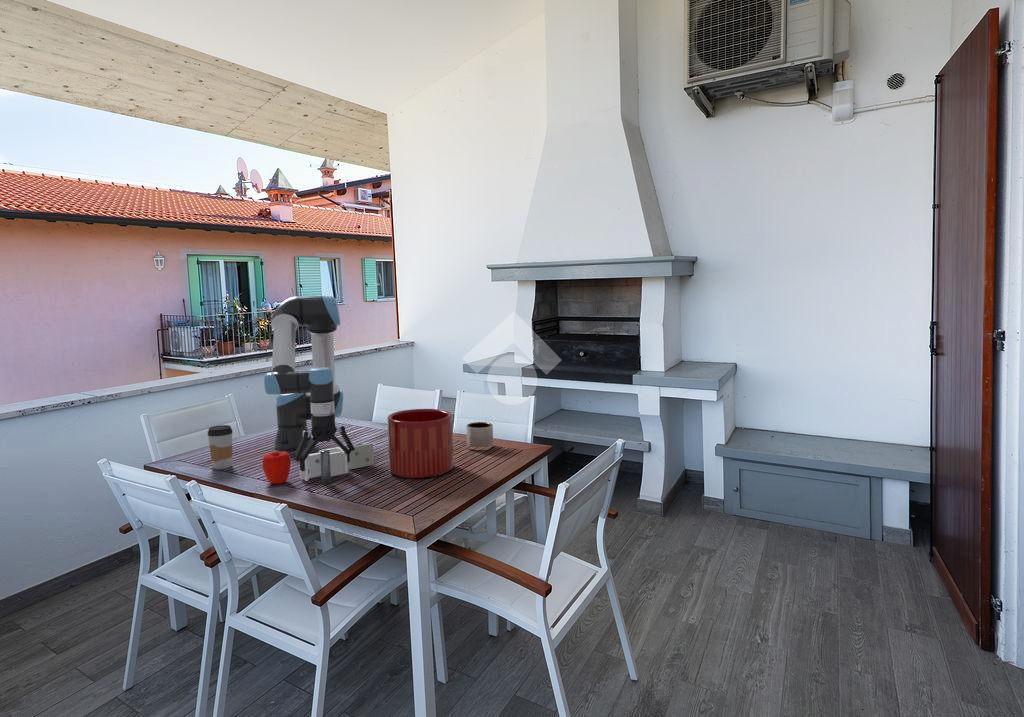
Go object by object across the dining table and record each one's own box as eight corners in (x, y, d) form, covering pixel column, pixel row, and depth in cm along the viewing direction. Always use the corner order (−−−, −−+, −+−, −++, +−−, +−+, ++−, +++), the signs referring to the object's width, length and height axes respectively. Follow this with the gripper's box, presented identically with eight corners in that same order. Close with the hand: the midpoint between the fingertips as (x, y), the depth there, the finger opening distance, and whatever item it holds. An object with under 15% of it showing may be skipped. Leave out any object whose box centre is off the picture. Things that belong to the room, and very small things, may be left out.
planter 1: (399, 484, 193) (397, 425, 190) (381, 466, 213) (379, 412, 211) (463, 473, 203) (462, 417, 201) (440, 457, 223) (439, 406, 221)
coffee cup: (240, 464, 216) (237, 425, 215) (222, 471, 208) (219, 430, 207) (222, 462, 219) (220, 424, 217) (204, 469, 211) (201, 429, 209)
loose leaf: (348, 468, 210) (347, 446, 209) (372, 463, 215) (371, 442, 214) (350, 469, 208) (349, 447, 207) (374, 465, 213) (373, 443, 212)
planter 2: (495, 450, 233) (495, 427, 232) (469, 452, 230) (468, 428, 229) (490, 443, 243) (489, 421, 242) (464, 445, 240) (464, 422, 239)
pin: (320, 482, 195) (318, 450, 194) (329, 480, 197) (327, 449, 196) (323, 484, 193) (321, 452, 192) (332, 482, 195) (330, 451, 193)
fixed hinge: (297, 476, 202) (296, 454, 201) (340, 468, 211) (339, 446, 210) (304, 482, 196) (303, 459, 195) (348, 473, 205) (347, 451, 204)
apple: (263, 488, 189) (261, 456, 188) (263, 481, 197) (261, 450, 196) (292, 485, 193) (290, 453, 192) (291, 477, 201) (289, 447, 200)
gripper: (288, 421, 182) (291, 486, 184) (362, 410, 197) (365, 471, 199) (281, 417, 188) (284, 480, 190) (354, 407, 203) (356, 466, 205)
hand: (326, 475), depth 195 cm, fingers open, 13 cm apart
